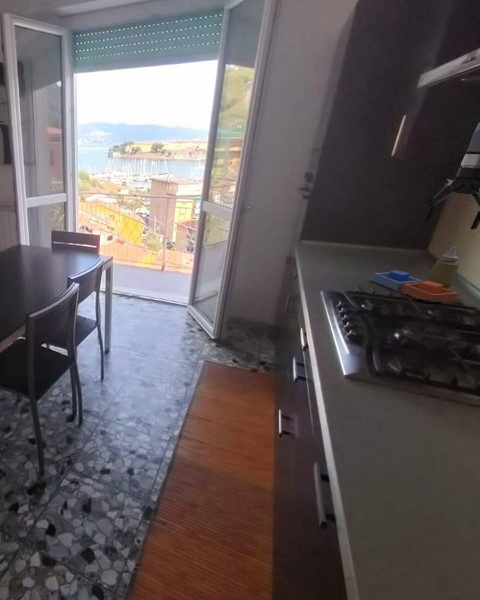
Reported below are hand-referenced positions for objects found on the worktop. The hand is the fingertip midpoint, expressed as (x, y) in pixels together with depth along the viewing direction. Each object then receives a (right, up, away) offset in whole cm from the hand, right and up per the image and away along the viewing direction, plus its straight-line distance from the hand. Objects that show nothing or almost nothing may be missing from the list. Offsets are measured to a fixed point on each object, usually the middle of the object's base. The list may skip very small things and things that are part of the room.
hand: (449, 225), depth 137 cm
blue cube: (-7, -22, +15) cm, 28 cm away
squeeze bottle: (+5, -25, +11) cm, 27 cm away
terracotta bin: (-5, -28, +4) cm, 28 cm away
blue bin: (-7, -22, +16) cm, 28 cm away
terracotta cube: (-5, -27, +4) cm, 28 cm away
